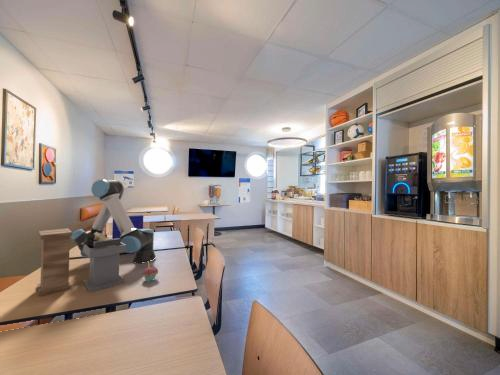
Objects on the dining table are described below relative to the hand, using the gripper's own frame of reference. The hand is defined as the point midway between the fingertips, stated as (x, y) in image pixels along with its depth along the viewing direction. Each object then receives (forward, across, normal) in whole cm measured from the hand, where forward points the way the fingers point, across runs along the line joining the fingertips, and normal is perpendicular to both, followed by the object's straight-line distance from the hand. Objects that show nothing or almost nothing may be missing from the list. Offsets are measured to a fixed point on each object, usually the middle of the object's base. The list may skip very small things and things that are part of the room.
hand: (100, 233), depth 128 cm
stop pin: (+1, 0, -5) cm, 5 cm away
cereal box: (-50, -29, -2) cm, 57 cm away
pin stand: (-14, +20, -22) cm, 33 cm away
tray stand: (-4, 0, -28) cm, 28 cm away
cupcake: (+8, -20, -35) cm, 41 cm away
